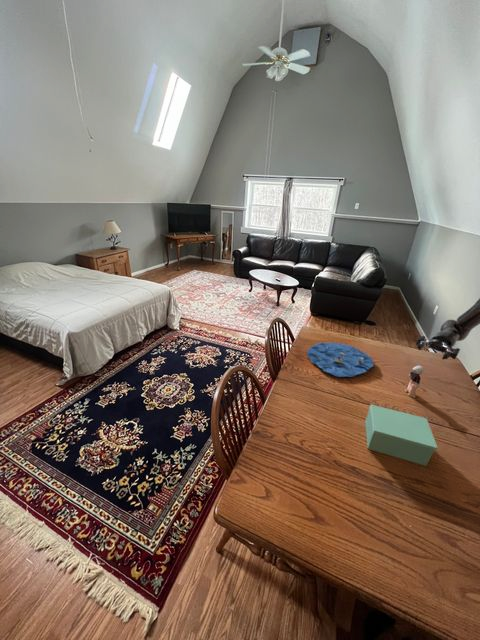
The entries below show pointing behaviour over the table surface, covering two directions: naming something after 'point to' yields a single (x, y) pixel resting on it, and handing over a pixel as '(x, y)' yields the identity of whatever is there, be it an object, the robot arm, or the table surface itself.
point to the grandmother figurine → (414, 381)
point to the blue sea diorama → (339, 359)
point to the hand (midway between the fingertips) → (431, 352)
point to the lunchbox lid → (402, 426)
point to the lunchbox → (396, 446)
